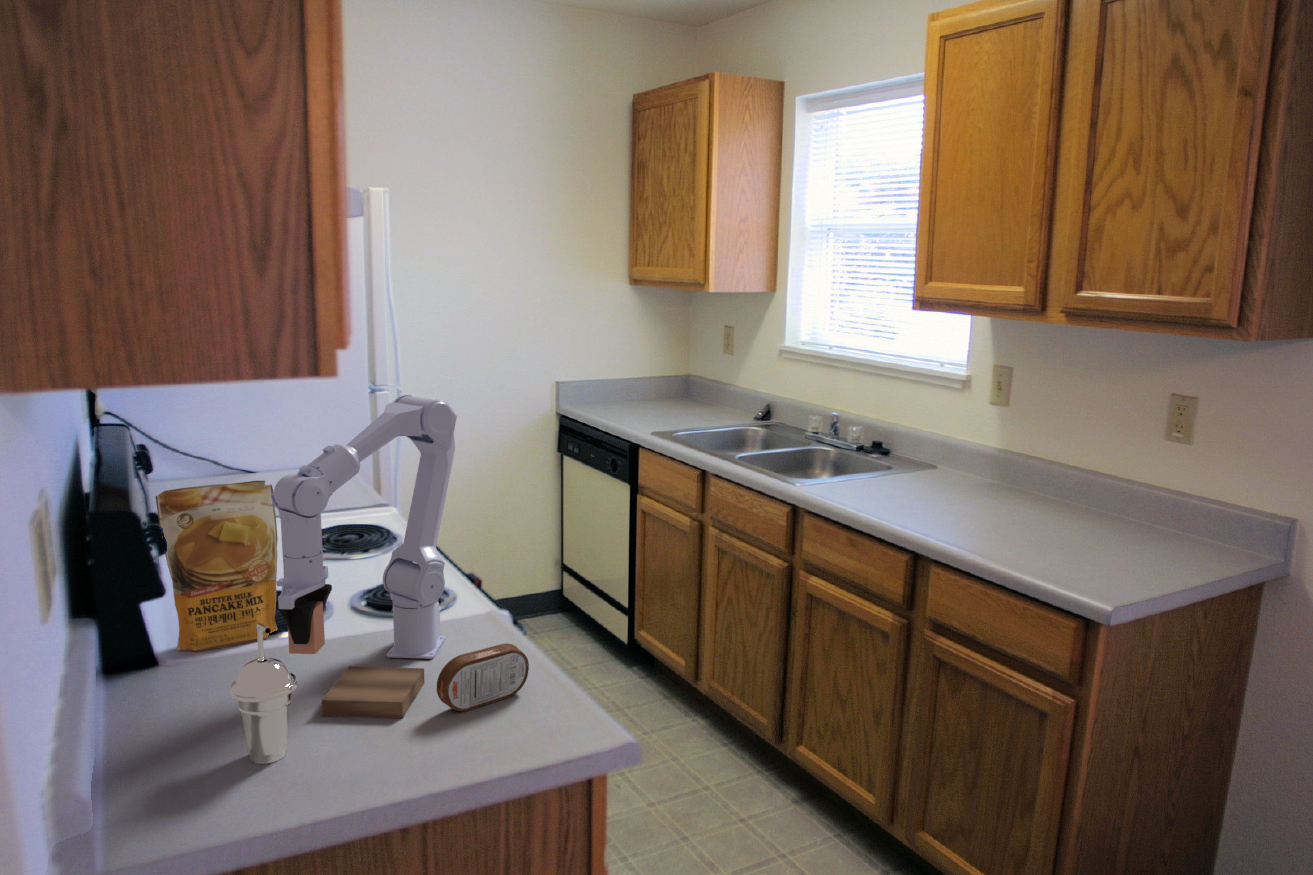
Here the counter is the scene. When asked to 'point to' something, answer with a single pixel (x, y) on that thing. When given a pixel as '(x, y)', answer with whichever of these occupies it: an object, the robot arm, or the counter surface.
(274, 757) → the cup with straw
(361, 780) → the counter surface
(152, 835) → the counter surface
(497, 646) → the tin
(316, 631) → the terracotta block
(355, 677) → the walnut base
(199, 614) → the pancake mix bag
